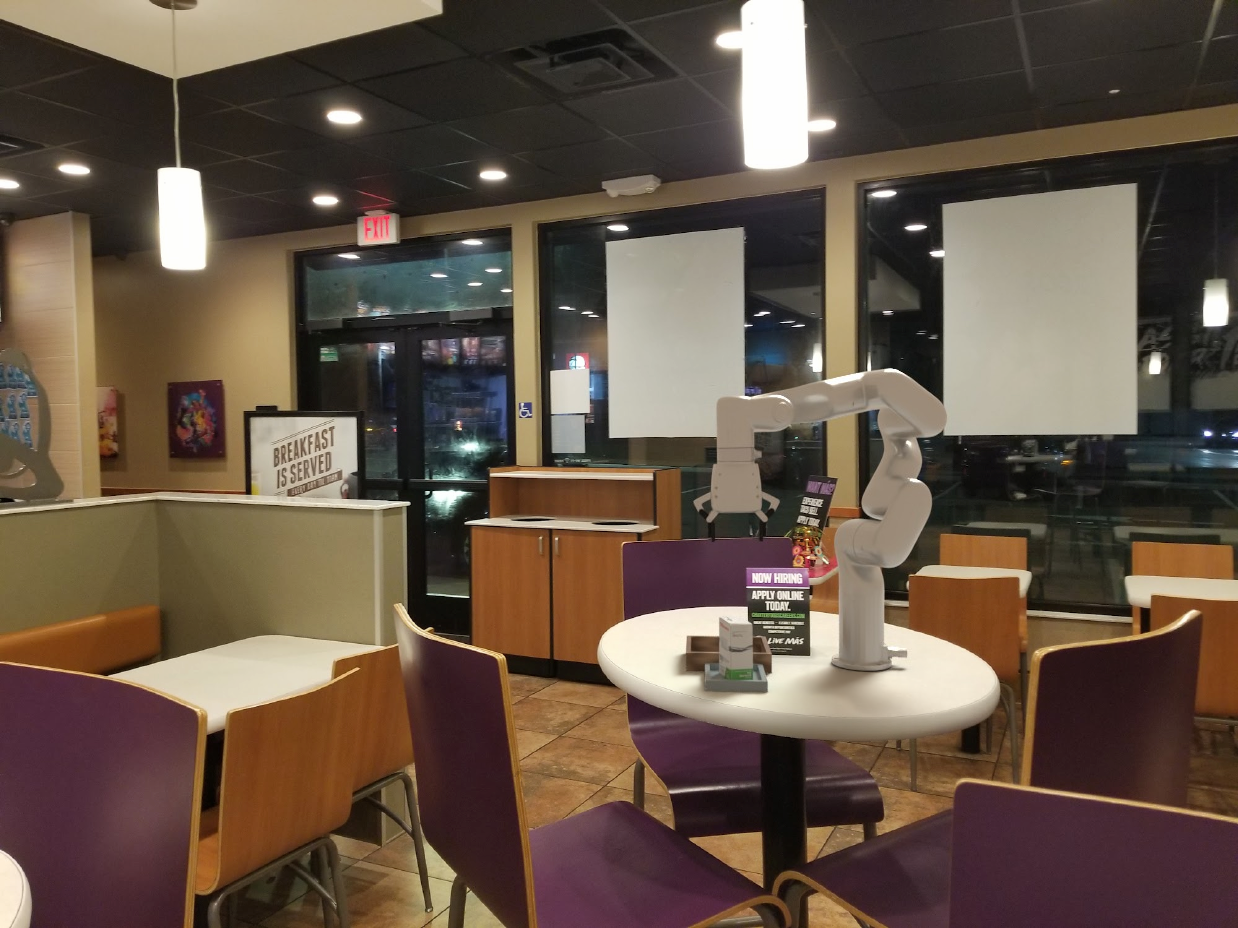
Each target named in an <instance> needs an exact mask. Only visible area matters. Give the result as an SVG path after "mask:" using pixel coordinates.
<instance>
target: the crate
mask: <svg viewBox="0 0 1238 928" xmlns="http://www.w3.org/2000/svg"><path fill="white" fill-rule="evenodd" d="M685 644H686V645H685V672H695V673H697V672H698V673H699V672H701V673H705V663H719V635H686V643H685ZM772 656H773V654H772V651H771V649H770V646H769V643H768V640H767V638H766V636H756V635H753V664H763V668H764V671H765V674H772V671H773V657H772Z"/></svg>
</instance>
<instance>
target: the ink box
mask: <svg viewBox="0 0 1238 928" xmlns="http://www.w3.org/2000/svg"><path fill="white" fill-rule="evenodd" d="M718 628H719V629H718V631H719V632H718V636H719V673H720V674H721V675H722V676H724V677H725V678H726V679H727V680H753V636H754V634H753V633H754V631H753V623H751V622H750V621H748V620H747V619H745V618H744V617H742V616H719V617H718Z"/></svg>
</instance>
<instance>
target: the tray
mask: <svg viewBox="0 0 1238 928" xmlns="http://www.w3.org/2000/svg"><path fill="white" fill-rule="evenodd" d="M766 674H767V673H765V671H764V668H763V664H753V680H727V679H726V678H725V677H724V676H722V675H721V674H720V673H719V663H705V672H704V682H705V683H704V685H705V689H704V690H705V691H707V692H753V693H755V692H757V693H758V692H759V693H760V692H761V693H762V692H763V693H767V692H768V691H769V689H768V687H769V685H768V684H769V681H768V679H767V675H766Z"/></svg>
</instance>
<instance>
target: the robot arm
mask: <svg viewBox="0 0 1238 928" xmlns="http://www.w3.org/2000/svg"><path fill="white" fill-rule="evenodd" d="M716 401H717V402H716V406H715V407H716V463H713V465H712V471H711V472H712V473H711V481H710V482H711V483H710V485H711V487H710V491H709V492H708V493H706V494H704V495H701V496H700V497H698V498H696V499H695V500H693V505H694V507H695V508H696V510H697V512H698V514H699V515H700V516H701V517H702V518H703V519H704V520H705V521H706V522H707V538H709V539H710V541H711V543H715V542H716V522H715V521H714V520H715V518H716V517H717V516H718V514H739V513H740V514H741V513H742V514H744V513H745V514H748V513H749V514H750V513H751V514H752V513H755V514H756V515H757V517H758V518H759V520H758V521H757V533H758V534H757V535H758V537H757V538H758V541H759V542H762V543H763V542H764V538H767V522H768V520H769V519H770V518H771V517H772V516H773V515H774V514H775V512H776V510H777V508H778V506H779V504H780V503H781V502H780V499H779V498H776V497H775V496H772V495H771V494H769V493H766V492H764V491H762V481H761V475H760V468H759V464H758V463H755V461H756V460H757V459H758V458H759V459H760V458H762V450H756V449H755V433H771V432H780V431H782V430H785V429H787V428H788V427H789V426H790V425H791V424H792V425H793V424H802V423H804V424H805V423H818V422H826V421H830V420H834V419H839V418H843V417H847V416H851V415H856V414H860V413H864V412H869V411H875V410H876V411H877V410H879V411H878V412H877V413H878V414H877V425H878V430H879V432H880V434H881V438H882V441H883V448H884V449H883V450H884V451H883V454H882V458H881V460H880V462H879V464H878V466H877V468H876V470H875V472H874V473H873V475H872V477H871V479H870V481H869V483H868V484H867V486H866V488H865V491H864V492H863V495H862V498H861V507H862V508H861V509H862V510H863V512H864V513H865V514H866V515H867V516H869V517H870V518H873V519H866V518H865V519H864V518H853V519H849V520H846V521H844V522H842V523H841V524H840V525H839V526H838V528H837V529H836V531H835V533H834V540H833V541H834V542H833V543H834V544H833V547H834V553H835V557H836V563H837V569H838V653H835V654H834V655H833V656H831V663H832V664H833V665H834V666H836V667H839V668H842V669H846V670H852V671H864V672H866V671H867V672H873V671H882V670H887V669H890V668H892V665H893V664H892V659H893V658H905V659H907V658H908V649H907V648H899V647H897V646H895V647H894V646H888V645H887V643H885V581H884V576H883V573H882V570H881V568H886V569H891V568H895V567H896V568H897V567H898V566H900V565H902V563H904V562H905V561H906V559H907V558H908V556H909V555H910V553H911V552H912V550H913V548H914V546H915V544H916V543H917V541H918V538H919V537H920V535H921V532H922V531H923V529H924V527H925V525H926V523H927V521H928V519H929V517H930V514H931V510H932V505H933V502H932V501H933V499H932V493H931V491H930V489H929V487H928V486H927V484H925V483H924V482H923V481H921V480H918V479H917V478H918V476H919V474H920V472H921V468H922V464H923V457H922V453H921V449H920V446H919V443H918V440H917V439H919V438H931V437H935V436H937V435H938V434H940V433H942V431H943V430H944V429H945V427H946V424H947V422H948V421H947V420H948V414H947V410H946V408H945V406H944V405H943V404H944V403H942V401H940V400H939V398H937V397H936V396H934V395H933V394H932V393H931V392H929V391H928V390H927V389H926V388H924V387H923V386H922V385H920V384H919V383H918V382H917V381H915V380H914V379H913V378H912V377H910V376H908V375H907V374H905V373H903V372H901V371H899V370H898V369H893V368H884V369H883V368H882V369H874V370H868V371H867V370H866V371H862V372H858V373H851V374H848V375H843V376H842V375H841V376H838V377H834V378H829V379H824V380H823V379H822V380H818V381H813V382H810V383H806V384H802V385H800V386H796V387H791V388H786V389H783V390H782V389H781V390H778V391H773V392H772V391H771V392H769V393H763V394H758V395H754V396H746V395H727V396H722V397H720V398H718V399H717V400H716ZM763 500H765V501H767V502H769V503H770V506H769V508H768V509H767V510H766V511H765V512H763V510H761V509H762V507H763ZM707 501H710V506H711V511H709V513H708V512H707V511H706V510H705V509H704V507H703V503H705V502H707ZM874 519H876V520H874Z"/></svg>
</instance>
